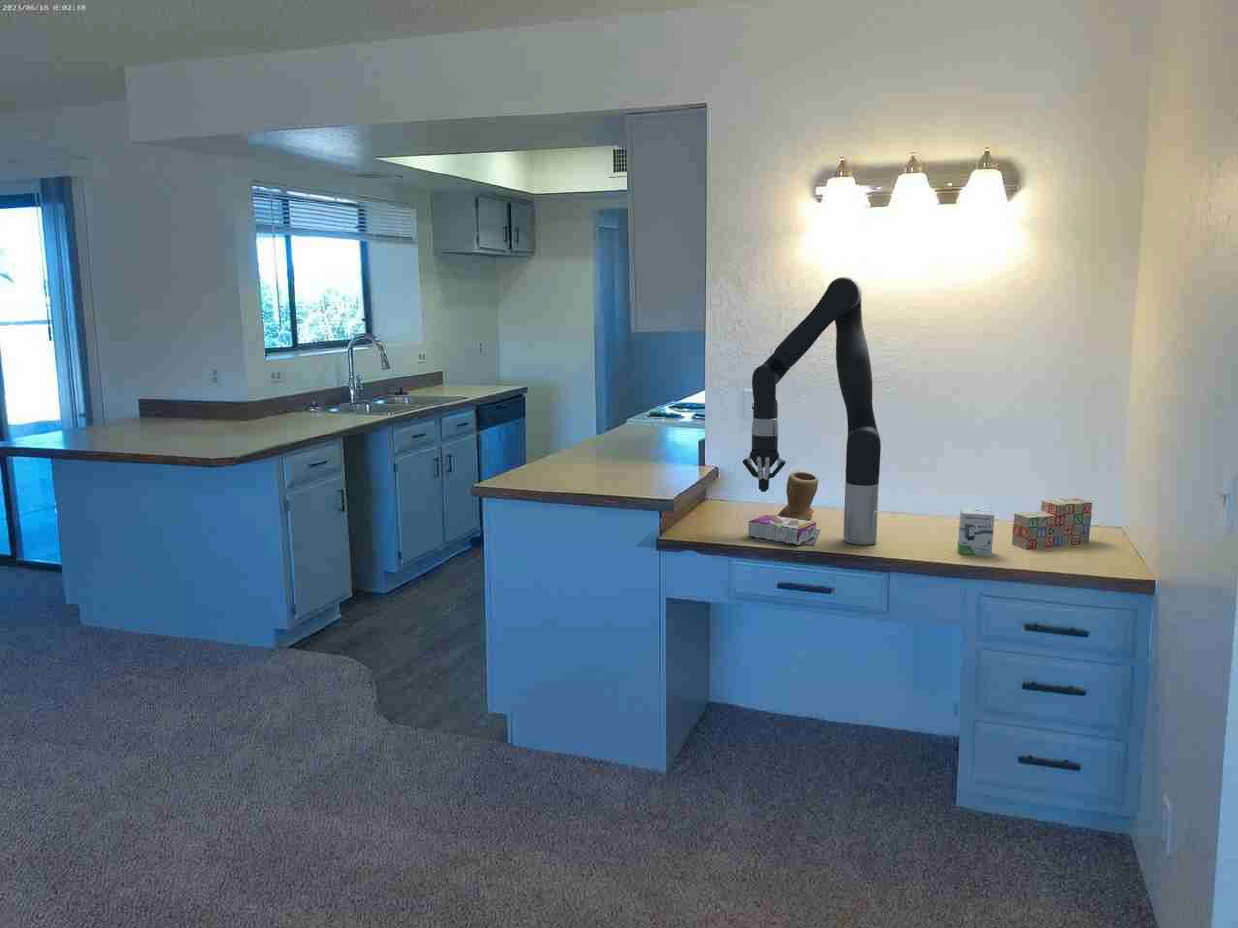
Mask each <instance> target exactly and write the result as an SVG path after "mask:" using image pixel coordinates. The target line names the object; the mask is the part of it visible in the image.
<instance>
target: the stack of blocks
mask: <svg viewBox="0 0 1238 928" xmlns="http://www.w3.org/2000/svg"><path fill="white" fill-rule="evenodd" d="M1040 505H1041V506H1040V510H1037V511H1035V510H1034V511H1024V512H1014V515H1013V524H1012V538H1011V544H1012V545H1014V546H1016V547H1019V548H1021V549H1024V550H1033V549H1034V550H1035V549H1044V548H1045V549H1046V548H1057V547H1065V546H1067V547H1068V546H1079V545H1087V544H1089V543H1090V531H1091V522H1092V511H1093V510H1092V509H1093V507H1092V506H1093V502H1092V501H1089V500H1085V499H1082V498H1077V497H1075V498H1066V497H1065V498H1063V497H1062V498H1057V499H1045V500H1041V504H1040Z"/></svg>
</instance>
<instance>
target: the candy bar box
mask: <svg viewBox="0 0 1238 928" xmlns="http://www.w3.org/2000/svg"><path fill="white" fill-rule="evenodd" d="M816 529H817V522H816V521H811V520H810V521H809V520H807V521H805V520H799V519H792V518H786V517H780V516H778V515H774V514H773V515H772V514H765V515H762V516H760V517H758V518H757V517H756V518H753V519H751V520H749V521H748V537H750V538H751V537H752V538H761V539H767V540H773V541H778V542H783V543H790V544H789V545H794V544H795V546H797V545H798V546H800V545H799V544H801V543H804V542H806V541H809V540H811V539H814V538H816Z"/></svg>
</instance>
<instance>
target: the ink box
mask: <svg viewBox="0 0 1238 928" xmlns="http://www.w3.org/2000/svg"><path fill="white" fill-rule="evenodd" d="M994 527H995V513H994V511H993V510H988V509H987V510H986V509H974V508H973V509H972V508H962V509H960V514H959V526H958V539H957V553H958V554H959V555H967V556H968V555H970V556H980V557H981V556H982V557H992V553H993V540H994Z"/></svg>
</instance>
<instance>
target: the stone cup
mask: <svg viewBox="0 0 1238 928" xmlns="http://www.w3.org/2000/svg"><path fill="white" fill-rule="evenodd" d="M818 485H819V477H818V476H816V475H814V474H812V473H810V472H806V471H800V470H799V471H793V472H791V473H790V474H789V475H788V478H787V482H786V498H787V505H786V506H784V507H783V508H782V509H781V511H780V512H779V513H777V514H778V515H777V516H780V517H786V518H792V519H799V520H805V521H809V519H810V518H811V517H812V515H814V512H815V510H814V509H813V508H811V506H812V503H813V501H814V499H815V496H816V493H817V492H818Z"/></svg>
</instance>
